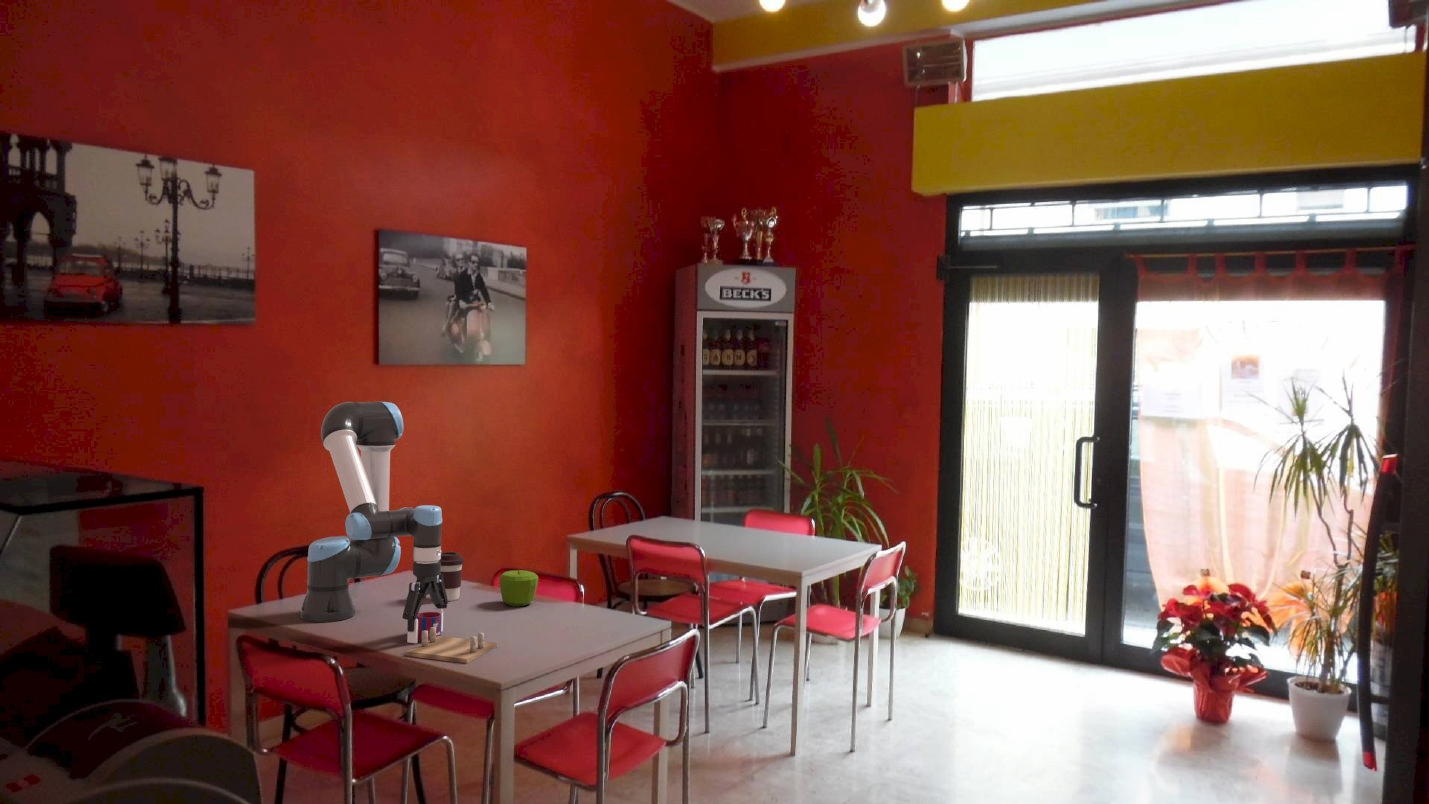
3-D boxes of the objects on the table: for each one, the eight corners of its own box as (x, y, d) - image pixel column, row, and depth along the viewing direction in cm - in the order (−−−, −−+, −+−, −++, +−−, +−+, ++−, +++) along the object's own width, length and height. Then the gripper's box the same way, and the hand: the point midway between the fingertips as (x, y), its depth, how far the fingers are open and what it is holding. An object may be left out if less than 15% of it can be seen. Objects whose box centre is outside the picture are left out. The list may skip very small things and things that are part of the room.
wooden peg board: (406, 655, 258) (406, 636, 258) (438, 640, 274) (439, 621, 273) (467, 663, 253) (467, 643, 253) (496, 647, 269) (497, 628, 268)
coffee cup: (469, 598, 323) (470, 553, 322) (446, 604, 314) (447, 557, 314) (448, 593, 328) (449, 549, 327) (425, 599, 320) (426, 553, 319)
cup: (424, 643, 270) (425, 619, 270) (404, 636, 277) (405, 612, 276) (445, 638, 275) (446, 614, 275) (425, 631, 282) (426, 608, 281)
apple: (543, 606, 316) (544, 571, 315) (507, 610, 309) (508, 574, 309) (527, 598, 326) (528, 564, 326) (493, 601, 319) (493, 567, 319)
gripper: (414, 570, 262) (412, 649, 263) (461, 554, 286) (459, 627, 287) (389, 568, 264) (388, 646, 265) (438, 552, 288) (437, 624, 289)
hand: (425, 636), depth 276 cm, fingers open, 12 cm apart
